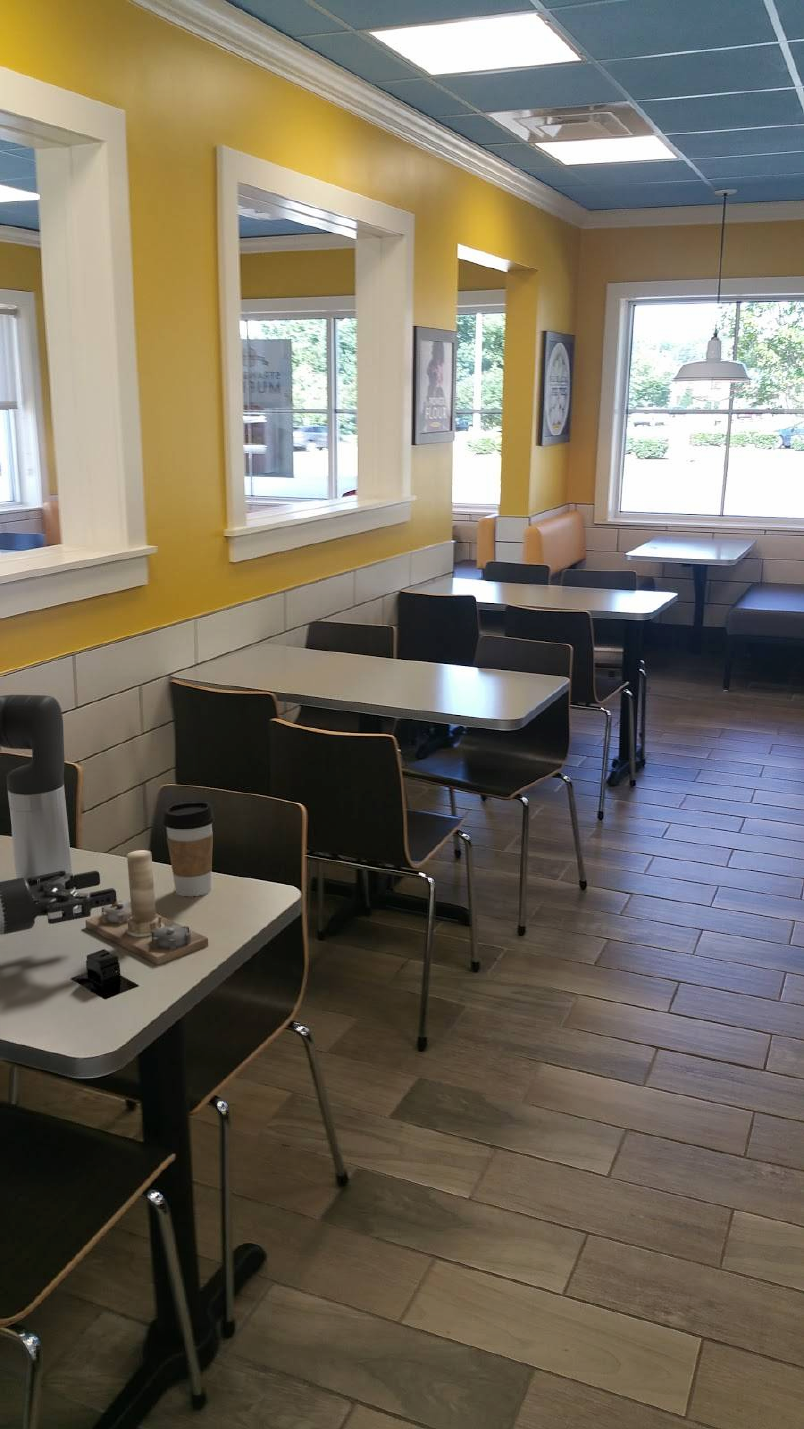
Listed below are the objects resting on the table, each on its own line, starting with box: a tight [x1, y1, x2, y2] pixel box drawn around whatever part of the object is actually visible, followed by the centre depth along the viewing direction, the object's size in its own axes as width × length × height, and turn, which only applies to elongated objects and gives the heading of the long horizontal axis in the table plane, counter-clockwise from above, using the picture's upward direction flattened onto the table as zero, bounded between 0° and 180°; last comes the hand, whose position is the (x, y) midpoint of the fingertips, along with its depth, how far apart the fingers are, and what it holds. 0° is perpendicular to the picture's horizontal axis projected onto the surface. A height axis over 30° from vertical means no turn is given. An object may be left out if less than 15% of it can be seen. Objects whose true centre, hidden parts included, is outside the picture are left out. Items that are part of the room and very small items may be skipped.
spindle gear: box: [126, 849, 162, 935], centre depth 175 cm, size 5×5×12 cm
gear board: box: [85, 900, 209, 966], centre depth 176 cm, size 20×9×3 cm, turn 45°
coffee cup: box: [162, 801, 215, 898], centre depth 193 cm, size 8×8×15 cm
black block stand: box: [70, 948, 140, 1000], centre depth 161 cm, size 12×7×5 cm, turn 45°
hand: (107, 886), depth 172 cm, fingers open, 8 cm apart
